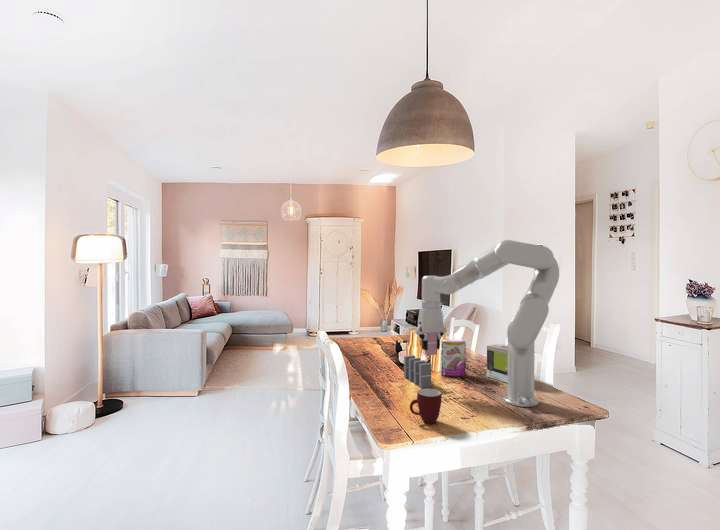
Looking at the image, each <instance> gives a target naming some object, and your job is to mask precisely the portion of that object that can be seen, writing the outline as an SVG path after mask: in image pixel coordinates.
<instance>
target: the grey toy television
mask: <svg viewBox="0 0 720 530" xmlns="http://www.w3.org/2000/svg"><path fill="white" fill-rule="evenodd" d="M486 376H487V377H488V378H490V379H495V380H497V381H501V382H504V383H506V384H508V344H504V343H497V344H490V345H489V344H488V345H486Z"/></svg>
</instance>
